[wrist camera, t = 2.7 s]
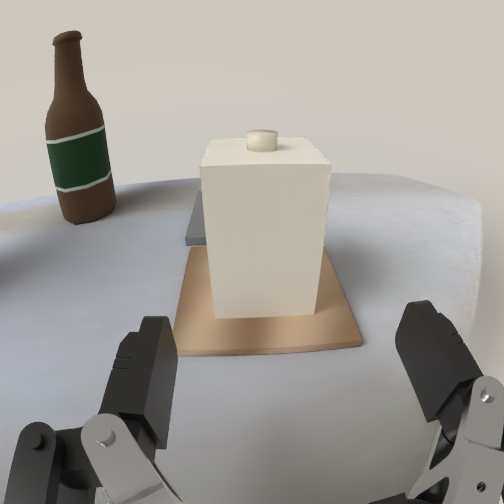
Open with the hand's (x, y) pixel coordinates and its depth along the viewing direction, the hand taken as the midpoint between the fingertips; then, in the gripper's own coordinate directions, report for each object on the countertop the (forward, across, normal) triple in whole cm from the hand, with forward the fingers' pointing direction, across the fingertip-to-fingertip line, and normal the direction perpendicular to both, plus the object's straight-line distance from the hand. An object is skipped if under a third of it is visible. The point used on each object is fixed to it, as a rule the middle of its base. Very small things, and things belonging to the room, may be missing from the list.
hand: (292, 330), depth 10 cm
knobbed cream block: (+11, 0, +7) cm, 13 cm away
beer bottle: (+28, +22, +8) cm, 37 cm away
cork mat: (+11, 0, +8) cm, 14 cm away
